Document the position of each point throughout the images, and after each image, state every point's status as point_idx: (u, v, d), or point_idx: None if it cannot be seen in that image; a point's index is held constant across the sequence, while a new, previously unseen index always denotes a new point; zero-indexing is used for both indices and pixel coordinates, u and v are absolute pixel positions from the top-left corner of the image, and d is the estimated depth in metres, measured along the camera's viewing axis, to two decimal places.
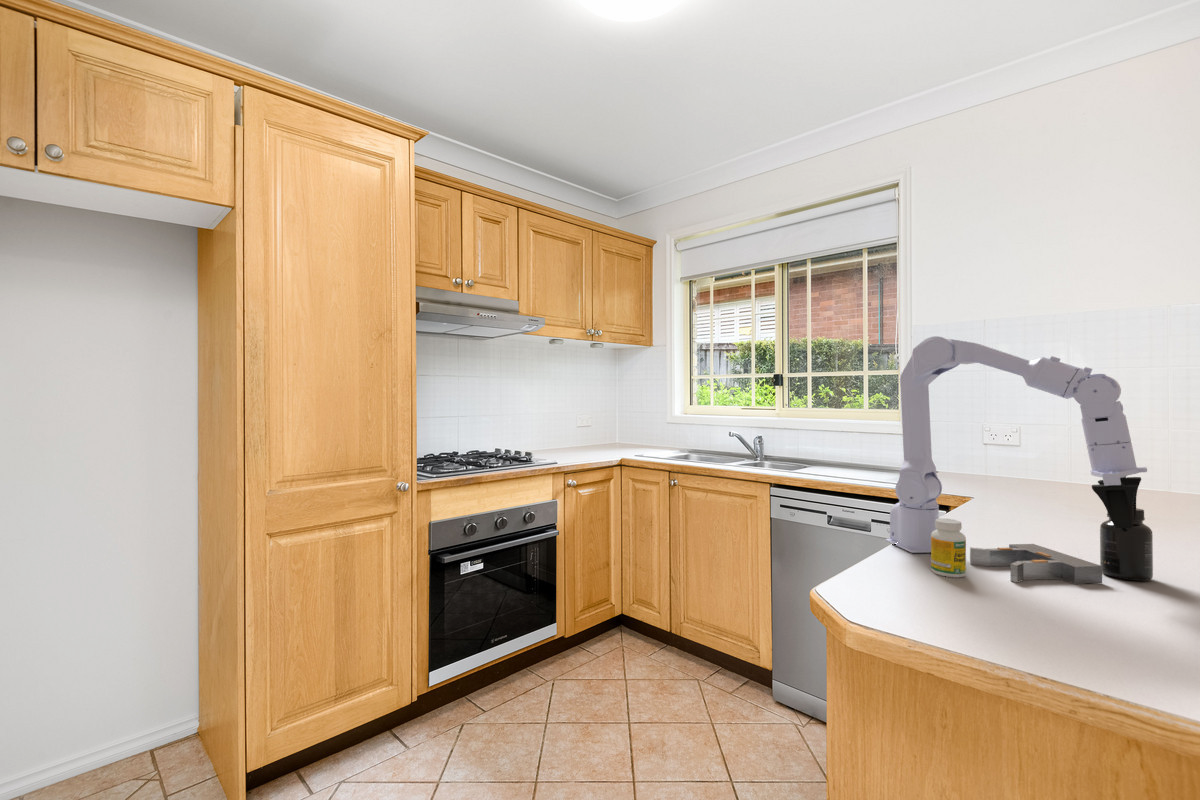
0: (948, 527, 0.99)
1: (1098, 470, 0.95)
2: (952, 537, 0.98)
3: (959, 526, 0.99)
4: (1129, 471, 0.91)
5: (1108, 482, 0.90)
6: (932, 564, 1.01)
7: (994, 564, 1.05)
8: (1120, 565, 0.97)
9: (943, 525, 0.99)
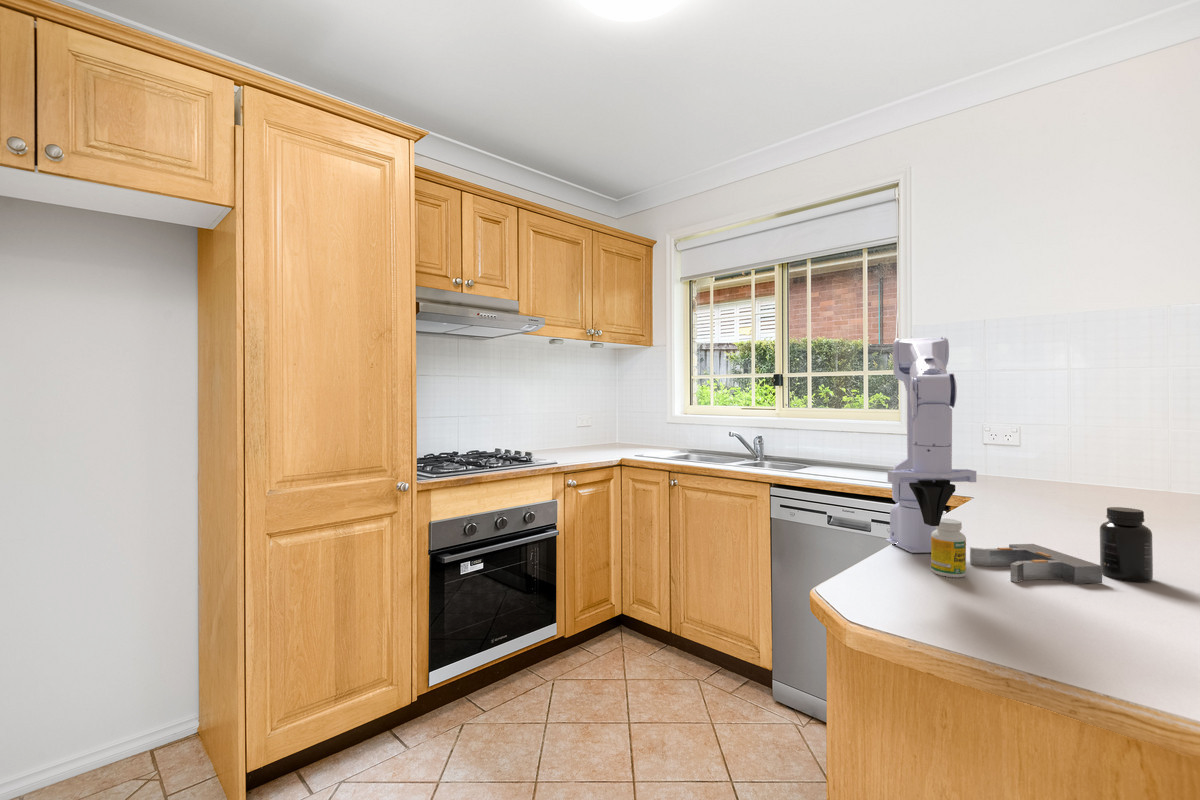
0: (948, 527, 0.99)
1: (912, 468, 0.96)
2: (952, 537, 0.98)
3: (959, 526, 0.99)
4: (921, 474, 0.92)
5: (889, 479, 0.94)
6: (932, 564, 1.01)
7: (994, 564, 1.05)
8: (1120, 567, 0.97)
9: (943, 525, 0.99)
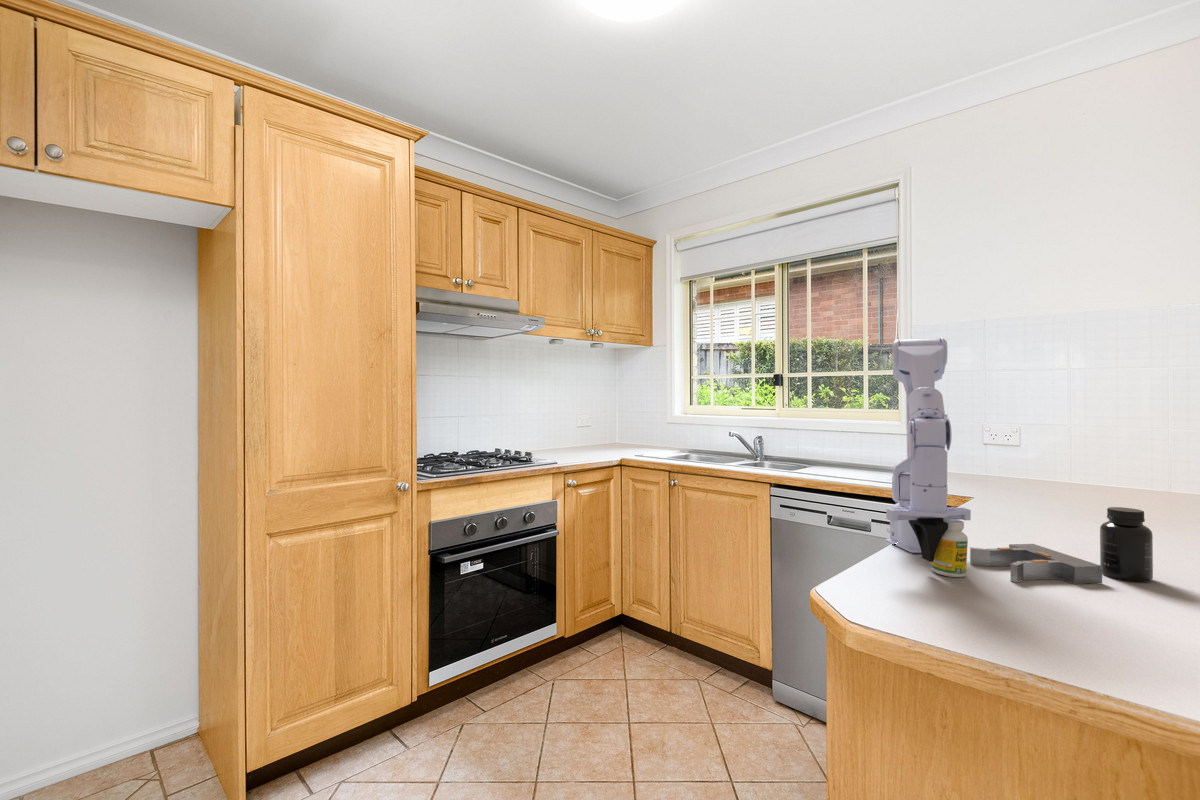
0: (950, 527, 0.99)
1: (909, 506, 1.02)
2: (954, 536, 0.98)
3: (962, 526, 0.99)
4: (917, 513, 0.98)
5: (888, 517, 1.00)
6: (933, 563, 1.01)
7: (994, 564, 1.05)
8: (1120, 566, 0.97)
9: None
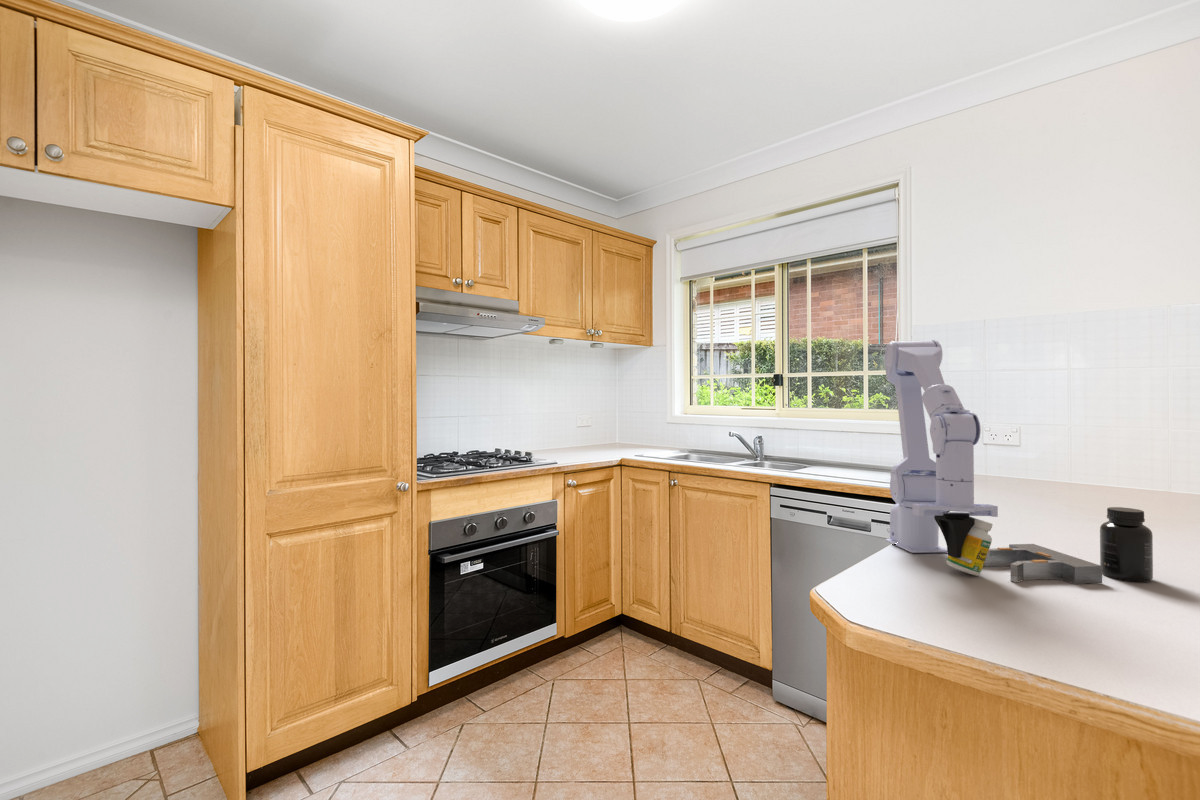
0: (980, 525, 0.98)
1: (935, 502, 1.01)
2: (982, 535, 0.98)
3: (990, 527, 0.98)
4: (944, 507, 0.97)
5: (914, 512, 1.00)
6: (950, 557, 1.00)
7: (994, 564, 1.05)
8: (1120, 566, 0.97)
9: (976, 521, 0.99)
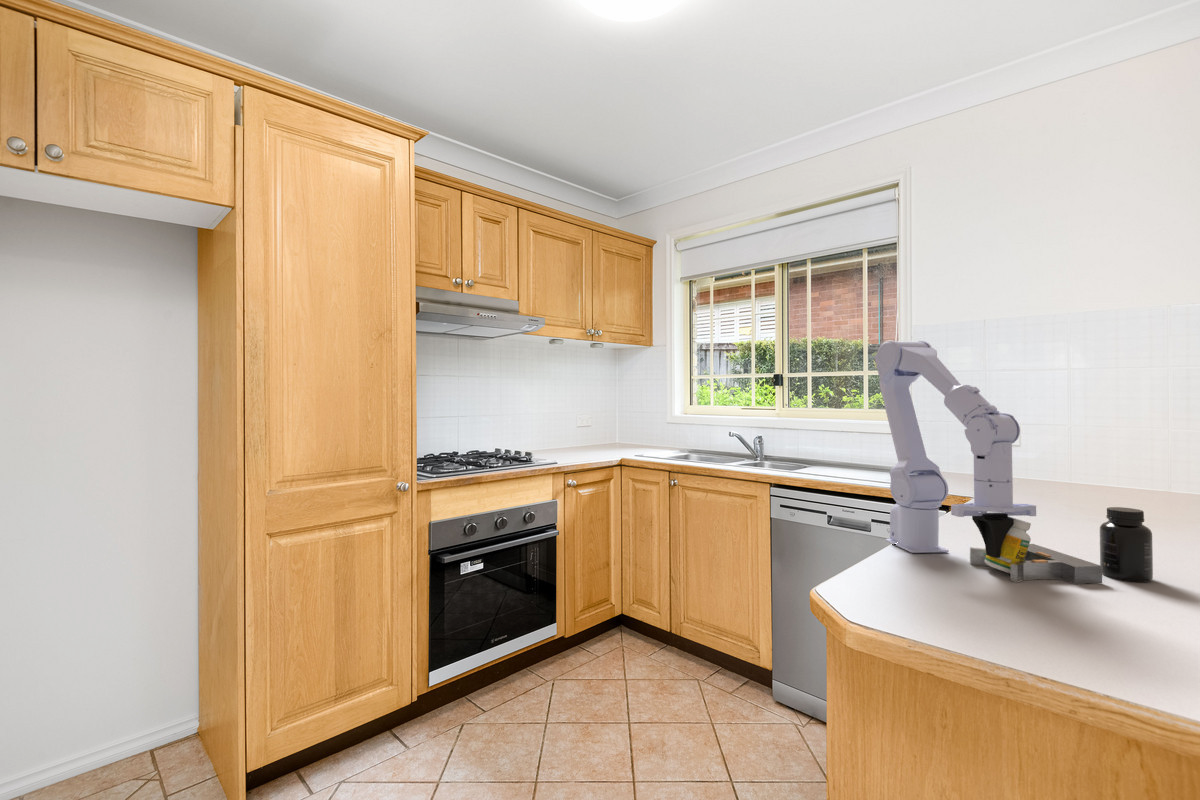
0: (1019, 524, 0.99)
1: None
2: (1021, 534, 0.98)
3: (1029, 526, 0.99)
4: (984, 508, 0.98)
5: (953, 512, 1.00)
6: (989, 556, 1.01)
7: None
8: (1120, 567, 0.97)
9: (1015, 521, 0.99)
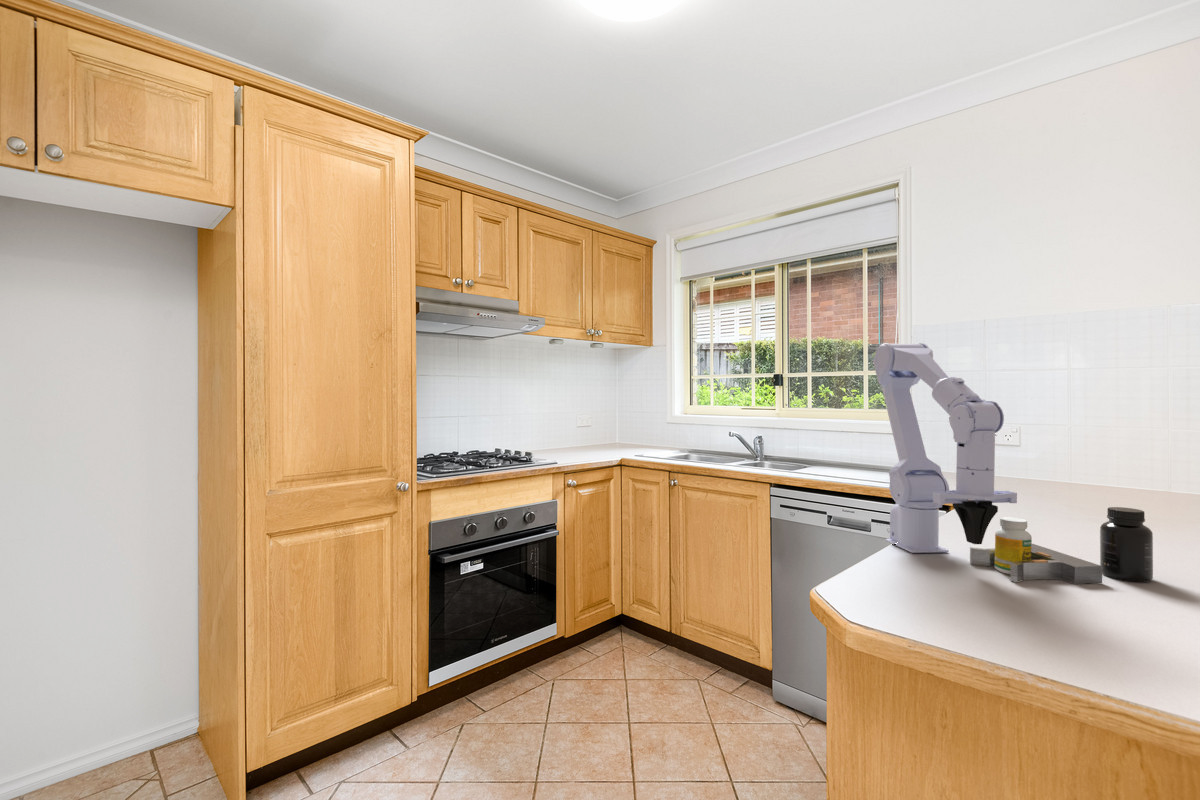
0: (1016, 526, 1.00)
1: (955, 490, 1.03)
2: (1020, 535, 0.99)
3: (1026, 524, 1.00)
4: (965, 496, 0.99)
5: (935, 500, 1.01)
6: (997, 563, 1.02)
7: (994, 564, 1.05)
8: (1120, 566, 0.97)
9: (1011, 523, 1.00)
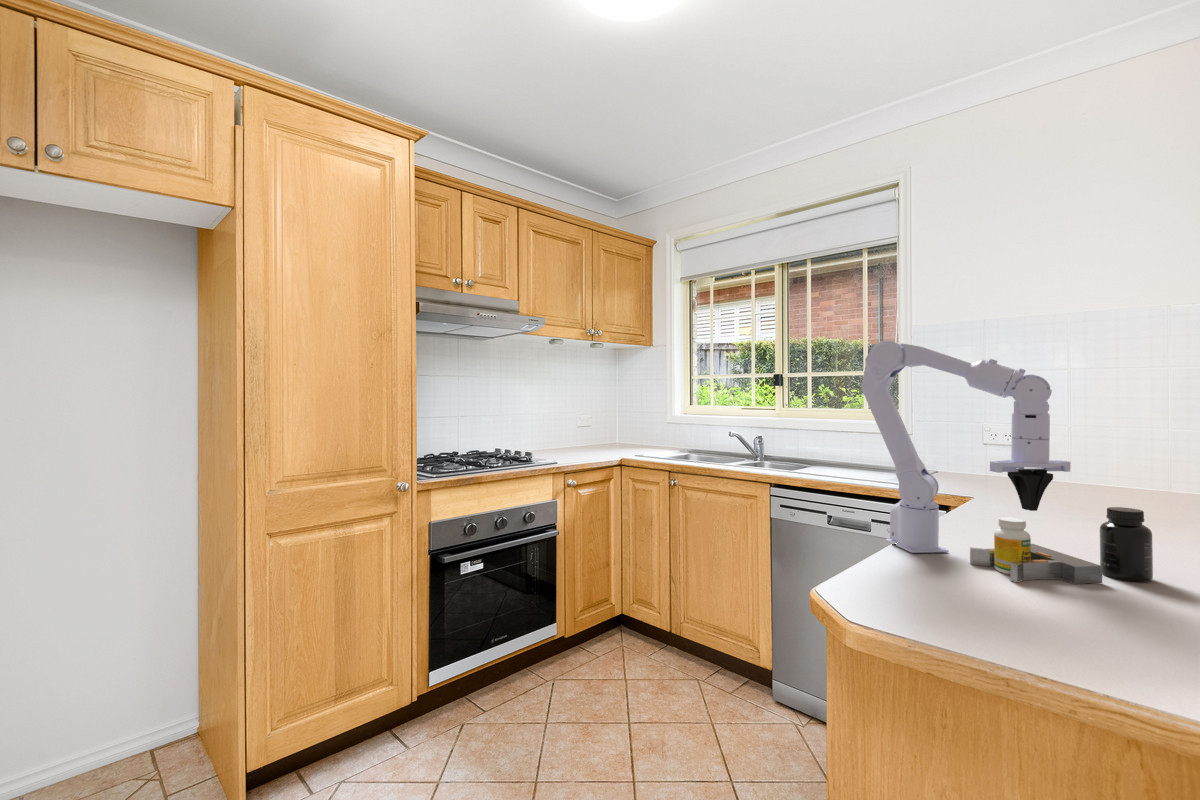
0: (1014, 526, 1.00)
1: None
2: (1019, 535, 0.99)
3: (1024, 524, 1.00)
4: (1022, 464, 1.03)
5: (992, 469, 1.06)
6: (997, 563, 1.02)
7: (994, 564, 1.05)
8: (1120, 567, 0.97)
9: (1009, 524, 1.00)
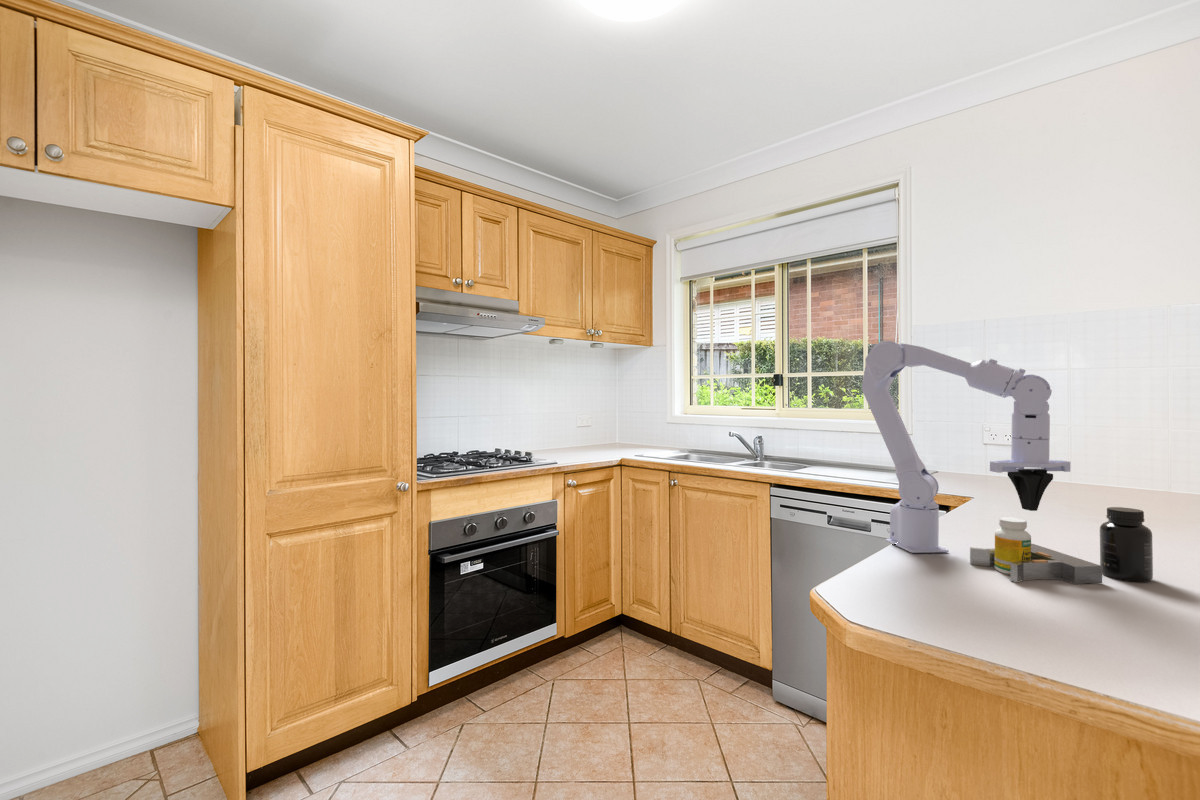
0: (1015, 526, 1.00)
1: None
2: (1020, 536, 0.99)
3: (1025, 525, 1.00)
4: (1022, 464, 1.03)
5: (992, 469, 1.06)
6: (997, 563, 1.02)
7: (994, 564, 1.05)
8: (1120, 567, 0.97)
9: (1010, 524, 1.00)
